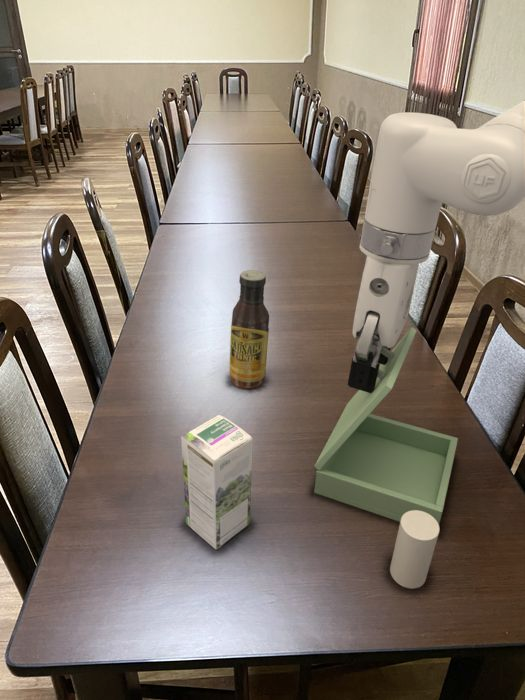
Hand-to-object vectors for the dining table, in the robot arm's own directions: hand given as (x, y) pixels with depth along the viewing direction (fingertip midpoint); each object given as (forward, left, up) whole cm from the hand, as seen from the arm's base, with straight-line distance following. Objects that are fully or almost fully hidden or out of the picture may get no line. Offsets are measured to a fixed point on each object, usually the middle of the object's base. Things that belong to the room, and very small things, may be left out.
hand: (368, 373), depth 68 cm
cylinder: (-8, +16, -16) cm, 24 cm away
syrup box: (+15, +16, -16) cm, 27 cm away
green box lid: (-1, 0, -4) cm, 4 cm away
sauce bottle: (+21, -15, -16) cm, 30 cm away
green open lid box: (-4, +1, -15) cm, 16 cm away
